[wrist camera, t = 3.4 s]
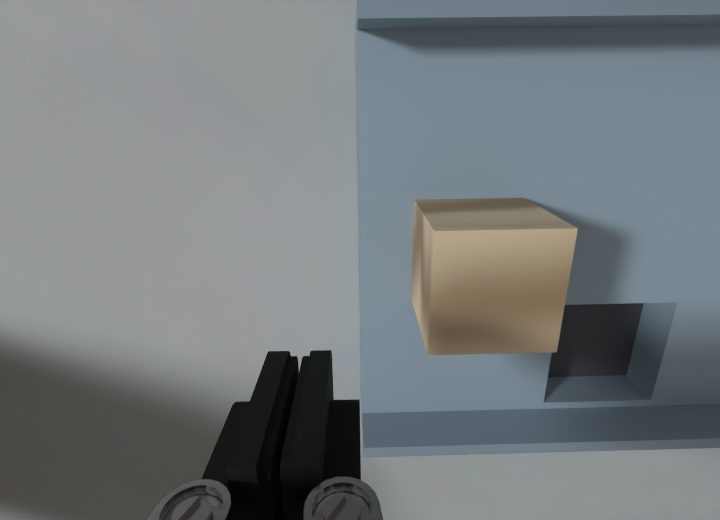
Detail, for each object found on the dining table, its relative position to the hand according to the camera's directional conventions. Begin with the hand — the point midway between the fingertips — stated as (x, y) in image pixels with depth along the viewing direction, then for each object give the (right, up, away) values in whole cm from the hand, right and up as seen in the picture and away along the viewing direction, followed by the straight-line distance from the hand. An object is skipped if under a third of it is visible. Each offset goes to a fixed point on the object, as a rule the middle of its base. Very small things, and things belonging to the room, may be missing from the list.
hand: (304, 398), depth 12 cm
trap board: (+17, +5, +11) cm, 22 cm away
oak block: (+7, +4, +9) cm, 12 cm away
